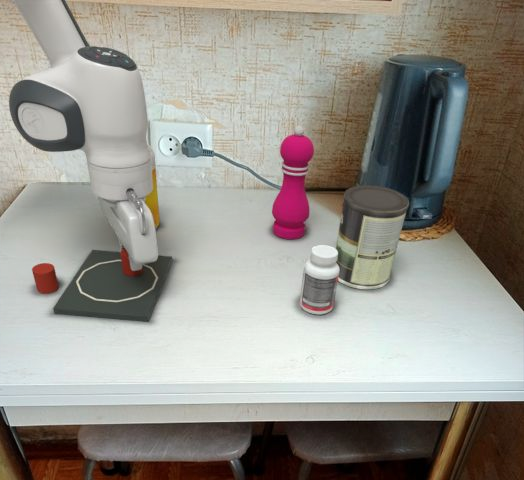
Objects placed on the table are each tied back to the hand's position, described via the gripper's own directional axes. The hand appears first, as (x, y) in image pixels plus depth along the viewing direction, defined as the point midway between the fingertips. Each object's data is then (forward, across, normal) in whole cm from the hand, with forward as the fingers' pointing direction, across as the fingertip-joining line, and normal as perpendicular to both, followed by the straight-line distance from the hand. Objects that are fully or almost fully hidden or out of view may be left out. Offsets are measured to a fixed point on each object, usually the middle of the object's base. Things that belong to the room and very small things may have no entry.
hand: (131, 261), depth 83 cm
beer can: (+3, +17, -7) cm, 18 cm away
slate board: (+3, -2, +3) cm, 4 cm away
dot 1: (+3, +1, +13) cm, 14 cm away
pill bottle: (+3, -19, -24) cm, 31 cm away
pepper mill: (+3, +5, -32) cm, 33 cm away
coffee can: (+3, -14, -36) cm, 39 cm away
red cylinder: (+2, 0, 0) cm, 2 cm away
